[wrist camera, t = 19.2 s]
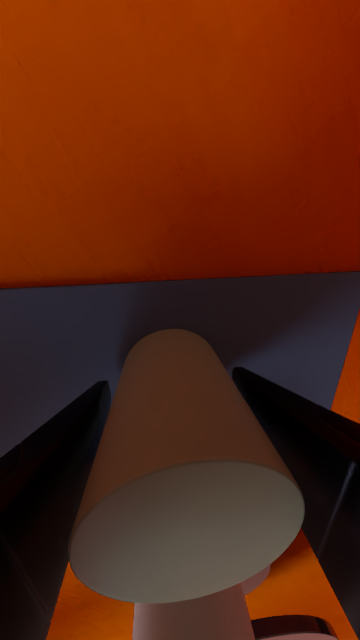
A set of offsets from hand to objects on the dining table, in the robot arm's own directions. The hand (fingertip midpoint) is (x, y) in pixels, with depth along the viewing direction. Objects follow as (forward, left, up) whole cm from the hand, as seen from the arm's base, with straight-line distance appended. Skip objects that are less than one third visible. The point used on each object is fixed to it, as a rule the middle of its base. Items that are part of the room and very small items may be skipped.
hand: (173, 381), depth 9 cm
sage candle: (0, 0, -1) cm, 1 cm away
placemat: (0, +4, -1) cm, 5 cm away
